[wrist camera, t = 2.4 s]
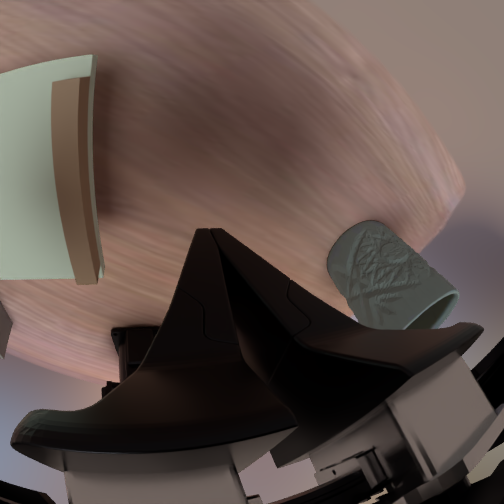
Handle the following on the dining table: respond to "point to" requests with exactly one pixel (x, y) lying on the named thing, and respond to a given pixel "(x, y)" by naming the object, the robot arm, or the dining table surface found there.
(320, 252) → the dining table surface
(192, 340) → the robot arm
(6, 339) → the tape dispenser
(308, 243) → the dining table surface
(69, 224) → the lid
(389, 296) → the grey-green cup
